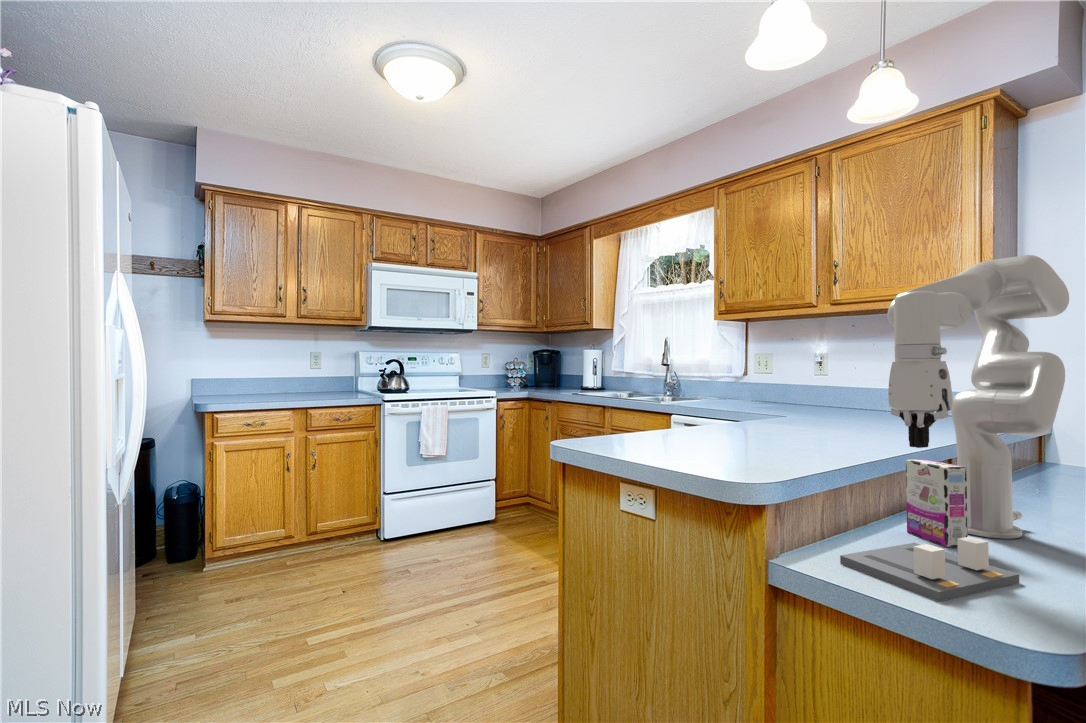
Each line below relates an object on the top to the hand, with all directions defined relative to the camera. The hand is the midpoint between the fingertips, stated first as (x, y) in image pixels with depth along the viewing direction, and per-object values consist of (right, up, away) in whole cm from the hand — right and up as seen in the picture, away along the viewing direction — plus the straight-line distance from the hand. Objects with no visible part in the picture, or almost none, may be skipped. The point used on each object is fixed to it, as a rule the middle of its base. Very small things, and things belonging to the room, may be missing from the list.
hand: (918, 446), depth 107 cm
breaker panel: (-6, -21, -10) cm, 24 cm away
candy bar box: (+10, -21, +9) cm, 25 cm away
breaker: (-9, -19, -16) cm, 27 cm away
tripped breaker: (+1, -19, -12) cm, 23 cm away
